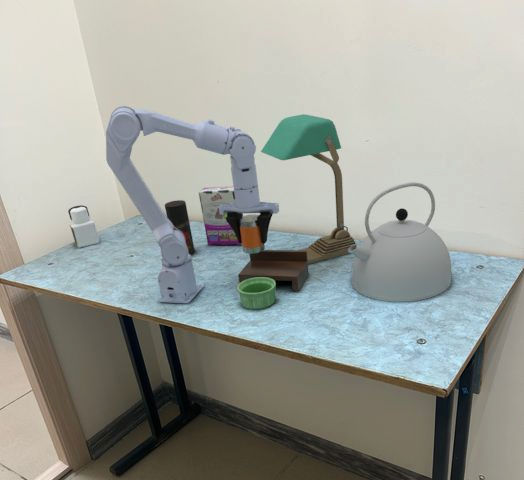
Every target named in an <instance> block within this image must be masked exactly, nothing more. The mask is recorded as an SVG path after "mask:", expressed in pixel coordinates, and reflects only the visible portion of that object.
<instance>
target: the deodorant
mask: <svg viewBox="0 0 524 480" xmlns="http://www.w3.org/2000/svg"><path fill="white" fill-rule="evenodd" d="M187 207H188V206H187V203H186V201H185V200H182V199H177V200H172V201H168V202H165V204H164V209H165V215H166V216H167V218H168V219H169V220H170V221H171V222H172V224H173V225H174V227H175V228H177V229H178V230H180V231H181V232H182V233H183V234H184V236H185V239H186V245H187V247H188V254H190V255H191V256H192V255H194V254H195V253H196V250H195V245H194V240H193V234H192V230H191V229H192V228H191V224H190V218H189V214H188V213H189V212H188V208H187Z"/></svg>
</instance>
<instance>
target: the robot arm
mask: <svg viewBox="0 0 524 480" xmlns="http://www.w3.org/2000/svg"><path fill="white" fill-rule="evenodd" d="M141 132H142V134H143V137H146V136H148V135H151V134H154V133H161V134H166V135H170V136H174V137H177V138H183V139H188V140H191V141H193V143H194V145H195V147H196V148H197V149H201V150H204V151H208V152H212V153H215V154H219V155H223V156H226V155H230V156H229V159H230V160H229V161H230V172H231V180H232V186H233V187H234V194H235V201H236V203H232V204H222V205H220V206H219V212H220V215H224V214H227V217H226V221H227V222H228V223H229V225H230V226H231V228H232V229H233V231H234V233H235V235H236V237H237V240H238V242H239V243H242V241H241V234H240V227H239V218H241V217H242V213H243V214H258V215H259V216H258V217H257V220H258V223H259V227H260V232H261V241H262V243H264V244H266V242H267V241H268V234H269V228H270V223H271V220H272V217H273V215H277V214H278V213H279V212H280V203H279V202H266V201H261V199H260V192H259V182H258V181H259V180H258V174H257V165H256V163H255V154H256V151H257V145H256V144H255V141H254V139H253V137H251V136H250V135H249V134H248V133H246V132H245V131H243V130H241V129H240V128H235V126H230V127H226V126H223V125H219V124H217V123H215V121H214V120H213V119H207V120H201V121H199V122H198V123H195V124H193V123H190V122H187V121H184V120H181V119H178V118H175V117H171V116H170V115H169V116H168V115H166V114H162V113H160V112H156V111H154V110H147V109H143V108H137V107H135V108H134V109H133V108H132V107H130V106H126V105H121V106H118V107H116V108H115V109H114V110H113V111H112V112H111V115H110V118H109V121H108V123H107V127H106V130H105V145H106V146H105V159H106V160H105V161H106V163H107V164H108V167H109V168H110V170H111V171H112V173H113V174H114V176H115V177H116V179H117V180H118V182H119V184H120V185H121V187H122V189H123V190H124V191H125V192H126V194H127V195H128V197H129V198H130V200H131V202H132V204H133V205H134V207H135V208H136V209H137V211H138V212H139V214H140V215H141V217H142V219H143V220H144V221H145V223H146V225H147V226H148V227H149V229H150V231H151V232H152V234H153V237H154V239H155V241H156V243H157V245H158V246H159V249H160V254H161V270H160V272H159V273H158V276H157V282H158V286H159V290H160V295H161V298H159V303H171V304H172V303H173V304H189V303H191V301H192V300H193V299H194V298H195V297H196V296H197V295H198V294H199V293H200V292H201V290H202V289H203V288H204V285H203V284H197V280H196V275H195V270H194V265H193V259H192V255H190V254H188V247H187V245H186V239H185V236H184V234H183V233H182V232H181V231H180V230H178V229H177V228H175V227H174V225H173V224H172V222H171V221H170V220H169V219H168V218H167V214H166V212H165V211H164V210H163V209H162V207H161V206H160V204H159V203H158V200H157V199H156V197H155V196H154V194H153V193H152V191H151V189H150V188H149V186H148V185H147V183H146V182H145V180H144V178H143V177H142V175H141V174H140V172H139V170H138V169H137V167H136V166H135V164H134V163H133V161H132V159H131V155H132V150H133V146H134V144H135V143H136V141H137V140H138V138H139V136H140V134H141Z"/></svg>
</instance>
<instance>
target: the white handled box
mask: <svg viewBox="0 0 524 480" xmlns="http://www.w3.org/2000/svg"><path fill="white" fill-rule="evenodd" d="M67 213H68V216H69V219H70V221H69V222H68V223H69V227H70V230H71V233H72V237H73V240H74V242H75V245H76V246H77V248H78V249H80V248H84V247H88V246H92V245H97V244H100V242H101V241H100V238H99V234H98V231H97V228H96V224H95V222H94V220H93V218H92V217H90V212H89V209H88V207H87V206H86V205H81V204H80V205H74V206H71V207H70V208H69V209H68V211H67Z"/></svg>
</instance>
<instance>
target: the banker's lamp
mask: <svg viewBox="0 0 524 480" xmlns="http://www.w3.org/2000/svg"><path fill="white" fill-rule="evenodd" d="M334 123H335V122H334V121H332V120H331V119H329V118H325V117H320V116H315V115H311V114H306V113H305V114H297V115H293V116H288V117H284V118H283V119H282V120H280V122H279V123H278V124H277V126H276V127H275V128H274V131H273V132H272V133H271V135H270V136H269V138H268V140H267V141H266V142H265V144H264V146H263V147H262V149H261V151H260V153H262V154H265V155H267V156H270V157H271V158H272V157H273V158H275V159H277V160H279V161H287V160H292V159H297V158H303V157H306V156H311V157H313V158H315V159H317V160H319V161H321V162H323V163H325V164H326V165H328V166H329V167H330V168H331V170H332V172H333V175H334V189H335V190H334V194H335V215H336V218H335V219H336V227H335V228H333V229H332V231H331V233H330V234H329V235H326V236H321V237H319V238H316V239H315V241H314V242H313V243H311V244H310V245H308V246H307V247H304V248H300V249H299V250H307V259H308V265H311V264H315V263H318V262H322V261H326V260H330V259H334V258H338V257H342V256H345V255H348V254H351V253H350V252H348V249H349V248H350V247H351V246H352V245H355V244H357V243H356V241H355V239H354V238H353V236H351V233H350V232H349V228H348V226H346V225H345V217H344V215H345V214H344V189H343V174H342V169H341V167H340V165H339V161H340V155H339V153H338V151H337V150H340V149H342V146H341V142H340V139H339V135H338V131H337V128H336V125H335V124H334ZM326 152H329V154H330V156H331V158H329V157H327V156H326V155H324V154H322V153H326Z"/></svg>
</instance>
